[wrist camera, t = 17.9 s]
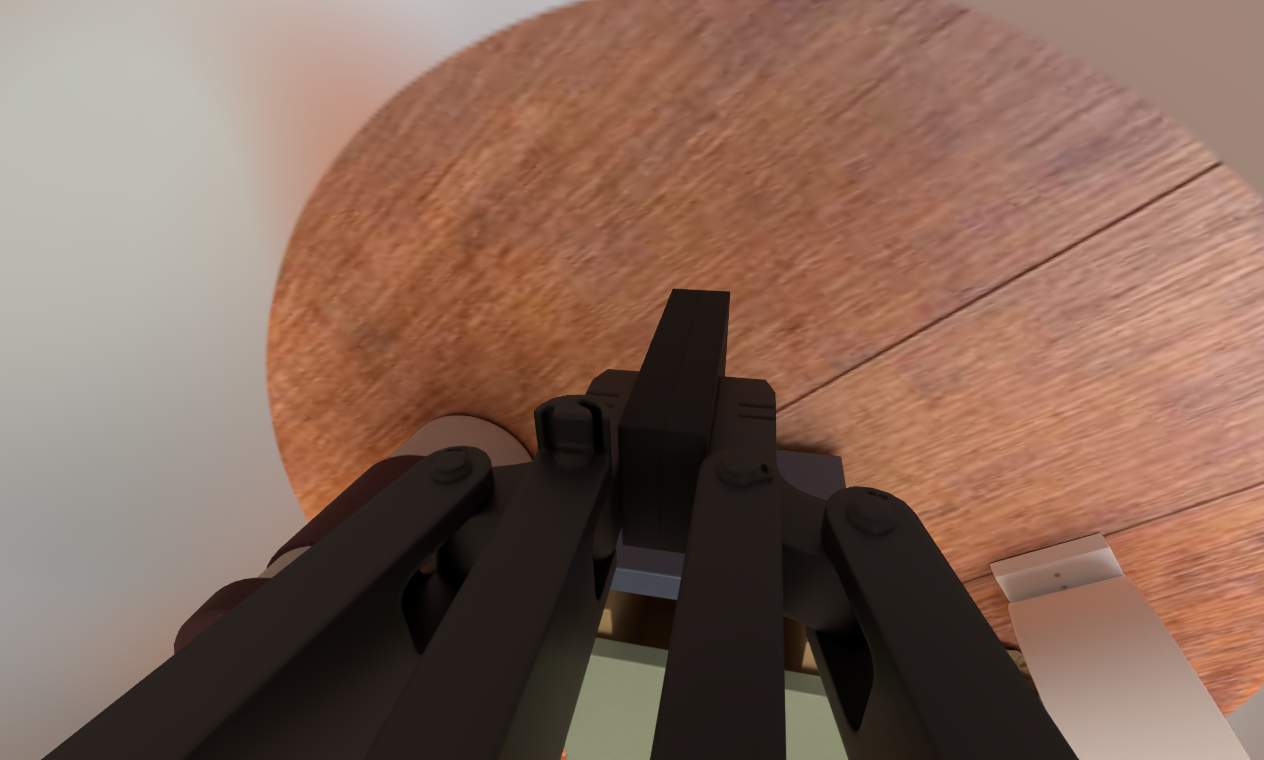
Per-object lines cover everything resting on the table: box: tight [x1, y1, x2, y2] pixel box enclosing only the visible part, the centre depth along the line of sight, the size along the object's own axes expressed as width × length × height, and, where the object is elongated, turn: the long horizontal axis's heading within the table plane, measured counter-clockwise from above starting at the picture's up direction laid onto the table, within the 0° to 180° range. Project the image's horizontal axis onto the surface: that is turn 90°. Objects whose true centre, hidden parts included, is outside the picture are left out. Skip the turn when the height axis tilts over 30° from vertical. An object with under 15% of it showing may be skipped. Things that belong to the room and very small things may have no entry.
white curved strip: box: [990, 533, 1251, 760], centre depth 22 cm, size 5×6×12 cm
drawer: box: [596, 450, 846, 676], centre depth 25 cm, size 12×10×8 cm
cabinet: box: [565, 638, 848, 760], centre depth 27 cm, size 12×11×10 cm
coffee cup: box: [174, 415, 533, 654], centre depth 25 cm, size 10×10×15 cm
